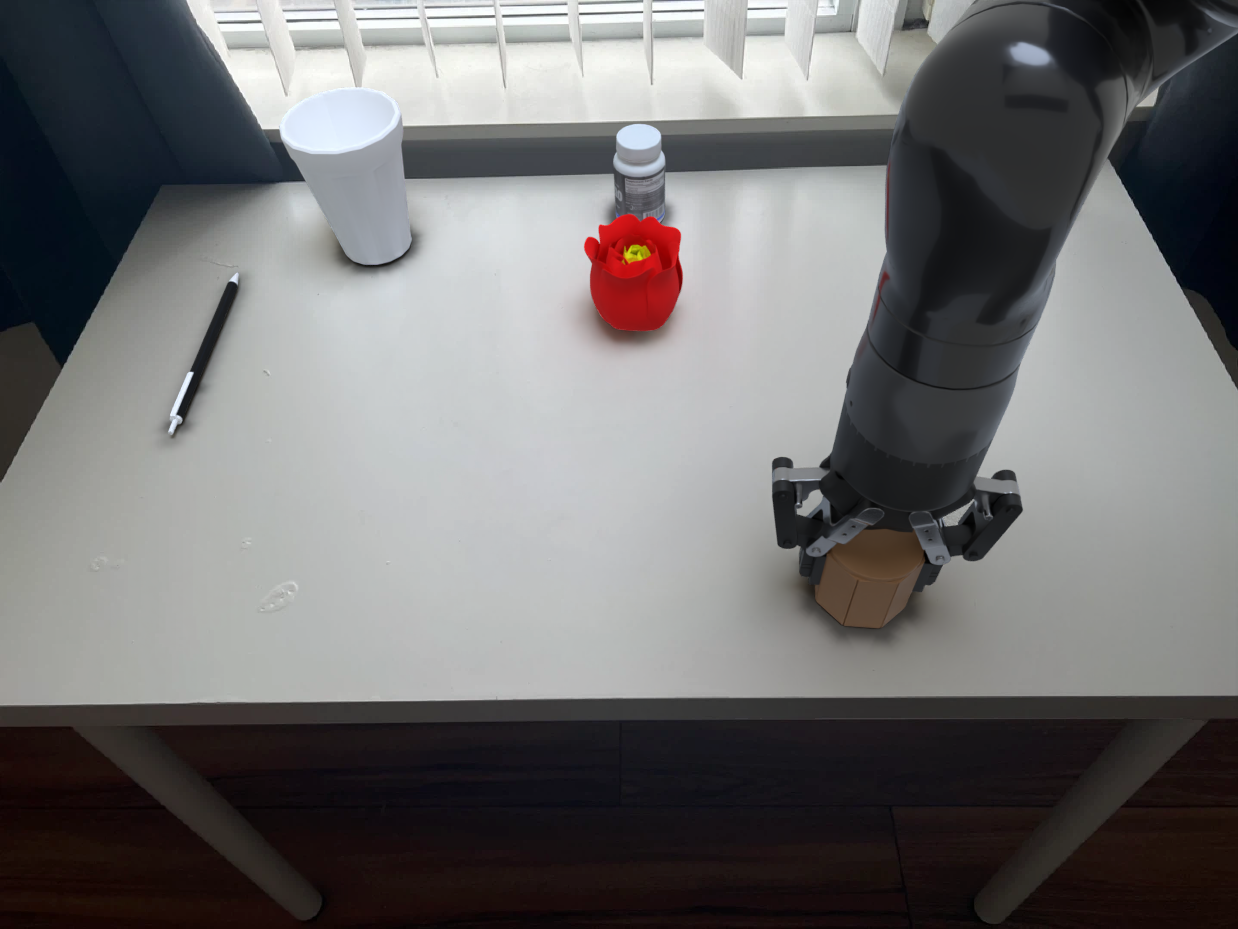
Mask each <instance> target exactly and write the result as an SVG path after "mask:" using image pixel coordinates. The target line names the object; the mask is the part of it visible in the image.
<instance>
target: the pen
mask: <svg viewBox="0 0 1238 929" xmlns="http://www.w3.org/2000/svg"><path fill="white" fill-rule="evenodd" d="M239 275H240V274H239V271H237V272H236V273H235V274H233V276H232V277H231V278H230V279H229V281H228V282H227V283H226V286H225V288H224V291H223V293H222V295H221V297H220V300H219V302H218V304H217V307H216V309H215V311H214V313H213V316H212V318H211V321H210V323H209V326H208V328H207V330H206V332H205V335H204V337H203V339H202V342H201V344H200V347H199V349H198V351H197V353H196V356H195V358H194V360H193V363H192V365H191V368H190V369H189V371H188V372H187V373H186V376H185V378H184V380H183V383H182V385H181V388H180V389H179V392H178V395H177V397H176V400H175V402H174V404H173V406H172V408H171V412H170V414H169V421H170V426H169V427H168V428H169V429H168V431H167V434H168V435H171V436H172V435H174V433H175V430H176V428H177V426H178V425H181V424H182V423H183V420H184V418H185V415H186V414H187V410H188V408H189V407H190V404H191V400H192V398H193V396H194V394H195V392H196V390H197V386H198V384H199V381H200V379H201V378H202V377H201V376H202V375H203V372H204V369H205V367H206V365H207V363H208V360H209V358H210V355H211V353H212V350H213V348H214V345H215V343H216V341H217V338H218V336H219V333H220V331H221V328H222V326H223V323H224V322H225V319H226V317H227V314H228V311H229V309H230V307H231V304H232V302H233V300H234V297H235V295H236V293H237V290H238V288H239V277H240V276H239Z"/></svg>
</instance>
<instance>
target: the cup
mask: <svg viewBox="0 0 1238 929" xmlns="http://www.w3.org/2000/svg"><path fill="white" fill-rule="evenodd" d="M278 128H279V135H280V139H281V141H282V143H283V145H284V147H285V149H286V152H287V153H288V155H289V157H290V159H291V160H292V161H293V162H294V164H295V165H296V166H297V168H298V170H299V172H300V175H301V176H302V177H303V179H304V181H305V183H306V185H307V186H308V188H309V190H310V192H311V194H312V195H313V197H314V199H315V201H316V203H317V205H318V206H319V209H320V210H321V212H322V214H323V216H324V217H325V219H326V221H327V223H328V225H329V227H330V228H331V230H332V232H333V234H334V236H335V238H336V239H337V241H338V243H339V245H340V246H341V248H342V250H343V252H344V254H345V255H346V257H347V258H349V259H350V260H351V261H352V262H354V263H358V264H361V265H363V266H365V265H366V266H368V265H370V266H371V265H372V266H373V265H374V266H376V265H377V266H378V265H382V264H387V263H390V262H393V261H394V260H396V259H398V258H400V257H402V256H403V255H404V254H405V253H406V252H407V251H408V250H409V249H410V247H411V244H412V241H413V238H412V234H411V226H410V216H409V206H408V197H407V188H406V177H405V168H404V158H403V149H402V143H403V136H404V133H405V131H404V124H403V117H402V111H401V108H400V106H399V103H398V101H397V100H395V99H394V98H392V97H391V96H390V95H388V94H387V93H385V92H384V91H380V90H377V89H373V88H368V87H363V86H362V87H358V86H357V87H339V88H334V89H329V90H324V91H320V92H318V93H315V94H313V95H311V96H309V97H306V98H304V99H301V100H300V101H298V102H297V103H296V104H295V105H293V106H292V107H290V109H288V110H287V111H286V113H285V114H284V116H283V118H282V120H281V122H280V124H279V126H278Z"/></svg>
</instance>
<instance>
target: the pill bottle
mask: <svg viewBox="0 0 1238 929" xmlns="http://www.w3.org/2000/svg"><path fill="white" fill-rule="evenodd" d="M615 136H616V137H615V139H616V140H615V150H616V152H615V153H614V155H613V159H612V167H613V185H614V186H613V188H614V189H613V190H614V205H615V218H618V217H620V216H622V215H626V214H633V215H635V216H636V217H637V218H638V219H639V221H640V222H641V221H642V220H643V219H645V218H647V217H650V216H652V217H655V218H656V219H657V221H658V222H659V223H660V224H661V223H662V221H663V220H664V218H665V215H666V157H665V156H666V155H665V153H664V152H663V150H662V133H661V132H660V130H659V129H657V128H656V127H654V126H652V125H649V124H644V123H634V124H633V123H632V124H629V125H626V126H623V127H621V129H620V130H618V132H617V133H616V135H615Z"/></svg>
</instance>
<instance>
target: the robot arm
mask: <svg viewBox="0 0 1238 929" xmlns="http://www.w3.org/2000/svg"><path fill="white" fill-rule="evenodd" d="M1237 34H1238V0H974V1H973V2H972V3H971V4H970V6H969V7H968V8H967V9H966V10H965V11H964V12H963V14H962V15H961V16H960V17H959V18H958V19H957V21H956V22H955V23H954V24H953V25H952V27H951V28H950V29H949V30H948V31H947V32H946V34H945V35H944V36H943V37H942V39H941V40H940V41H939V42H938V43H937V44H936V45H935V47H934V48H932V50H931V51H930V53H929V54H927V56H926V57H925V58H924V60H923V61H922V62H921V64H920V66H919V67H918V69H917V70H916V72H915V74H914V75H913V77H912V79H911V81H910V83H909V86H908V87H907V90H906V92H905V94H904V97H903V100H902V102H901V105H900V107H899V110H898V113H897V117H896V120H895V124H894V127H893V132H892V135H891V140H890V144H889V147H888V148H889V149H888V154H887V162H886V169H885V182H884V183H885V184H884V240H885V250H886V252H885V255H884V258H883V260H882V264H881V267H880V270H879V273H878V277H877V282H876V286H875V290H874V295H873V299H872V303H871V307H870V311H869V315H868V320H867V322H866V326H865V329H864V331H863V333H862V335H861V337H860V340H859V342H858V345H857V347H856V350H855V353H854V356H853V360H852V364H851V366H850V367H849V369H848V372H847V376H846V380H845V384H846V385H845V386H846V388H845V394H844V398H843V402H842V407H841V411H840V415H839V420H838V422H837V423H838V424H837V428H836V433H835V437H834V441H833V445H832V449H831V452H830V453H829V455H827V457H825V458H824V459H823V460H822V461H821V462H820V463H819V465H818V466H815V467H794V461H793V460H792V459H791V458H790V457H787V456H777V457H776V458H774V459H773V460H772V461H771V500H772V508H773V518H774V526H775V536H776V544H777V546H778V547H779V548H781V549H783V550H791V549H794V548H796V547H797V546H798V547H799V552H798V569H799V570H798V571H799V574H800V576H801V577H803V578H807V581H808V585H812V586H815V585H819V584H820V580H821V576H822V573H823V569H824V565H825V561H826V558H827V556H826V553H827V552H828V551H829V550H830V549H832V548H833V547H834V546H835V545H836V544H838V543H839V544H842V545H845V544H846V543H848V542H849V541H850V540H851V539H852V538H854V537H855V536H856V535H857V534H858V533H860V532H861V531H862V530H878V529H889V530H893V531H898V532H910V533H912V532H913V530H915V532H916V535H917V537H918V539H919V542H920V544H921V547H922V549H923V550H924V556H925V562H924V564H923V567H922V569H921V571H920V574H919V576H918V578H917V581H916V583H915V585H914V588H913V590H912V592H911V593H923V591H924V589H925V586H931V585H933V584H934V583H936V581H937V579H938V577H939V574H940V573H941V571H942V569H943V566H944V565H946V564H948V563H950V562H951V561H952V560H951V558H954V557H960V556H962V558H963V560H964V561H967V562H979V561H981V560H983V559H984V558H985V556H986V555H987V554H988V553H989V552H990V551H991V550H992V548H993V547H994V546H995V545H996V544H997V543H998V541H999V540H1000V539H1001V538H1002V537H1003V536H1004V535H1005V533H1006V532H1007V531H1008V529H1010V527H1011V526H1012V525H1013V523H1014V522H1015V521H1017V519H1018V518H1019V516H1020V515H1021V514H1022V513H1023V511H1024V508H1023V503H1022V497H1021V491H1020V488H1019V483H1018V480H1017V475H1016V472H1015V471H1014V470H1012V469H1001V470H998V471H996V472H995V473H993V475H992V476H991V477H990V478H989V477H983V476H978V473H979V471H980V469H981V467H982V465H983V462H984V460H985V459H986V455H987V454H988V451H989V449H990V446H991V445H992V443H993V441H994V438H995V437H996V434H997V431H998V429H999V426H1000V424H1001V422H1002V420H1003V418H1004V416H1005V414H1006V412H1007V409H1008V407H1009V405H1010V402H1011V399H1012V397H1013V395H1014V392H1015V388H1016V384H1017V380H1018V375H1019V371H1020V366H1021V364H1022V361H1023V358H1024V356H1025V355H1026V352H1027V350H1028V348H1029V345H1030V343H1031V341H1032V339H1033V336H1034V334H1035V332H1036V329H1037V328H1038V325H1039V323H1040V320H1041V318H1042V316H1043V314H1044V311H1045V309H1046V306H1047V303H1048V300H1049V299H1050V295H1051V292H1052V288H1053V284H1054V280H1055V277H1056V268H1057V259H1058V257H1059V256H1060V254H1061V252H1062V249H1063V247H1064V245H1065V243H1066V241H1067V239H1068V237H1069V235H1070V233H1071V231H1072V228H1073V226H1074V224H1075V222H1076V220H1077V218H1078V216H1079V215H1080V212H1081V211H1082V208H1083V206H1084V204H1085V202H1086V201H1087V199H1088V196H1089V194H1090V193H1091V191H1092V188H1093V186H1094V185H1095V183H1096V181H1097V178H1098V176H1099V175H1100V173H1101V171H1102V169H1103V167H1104V165H1105V163H1106V161H1107V159H1108V157H1109V155H1110V154H1111V152H1112V150H1113V149H1114V147H1115V145H1116V143H1117V141H1118V140H1119V138H1120V137H1121V136H1120V135H1121V134H1122V132H1123V130H1124V129H1125V127H1126V124H1127V123H1128V121H1129V119H1130V117H1131V115H1132V113H1133V112H1134V110H1135V108H1136V107H1137V106H1139V105H1140V104H1141V103H1142V102H1143V101H1144V100H1145V99H1146V98H1147V97H1148V96H1150V95H1151V94H1152V93H1154V92H1155V90H1157V89H1158V88H1159V87H1160V86H1162V85H1163V84H1164V83H1165V82H1167V81H1168V80H1169V79H1171V78H1173V76H1175V75H1176V74H1177V73H1179V72H1181V71H1182V70H1183V69H1185V68H1187V67H1188V66H1189V65H1191V64H1192V63H1194V62H1195V61H1197V60H1199V59H1200V58H1202V57H1203V56H1205V55H1206V54H1208V53H1209V52H1211V51H1213V50H1214V49H1215V48H1217V47H1219V46H1220V45H1221V44H1223V43H1225V42H1226V41H1228V40H1230V39H1231V38H1233V37H1235V36H1236V35H1237ZM814 491H819V492H820V494H821V495H822V497H821V502H820V503H819V504H817V505H816V507H815V508H814V509H812V510H811V511H810V512H809V513H808V514H807V515H806V516H805V515H803V514H802V515H801V514H799V513H798V510H800V509H802V508H803V506H804V505H803V502H805V501H807V500H808V499H809V496H810V494H811V493H812V492H814ZM970 503H971V504H970ZM969 504H970V505H969ZM967 505H969V507H968V508H967V509H966V510H965V512H964V513H963V514H962V516H961V517H960V518H959V519H958V521H957V524H953V525H947V524H946V522H945V518H944V517H947V516H948V515H950V514H953V513H954V512H956V511H958V510H960V509H962V508H963V507H965V506H967Z"/></svg>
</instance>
